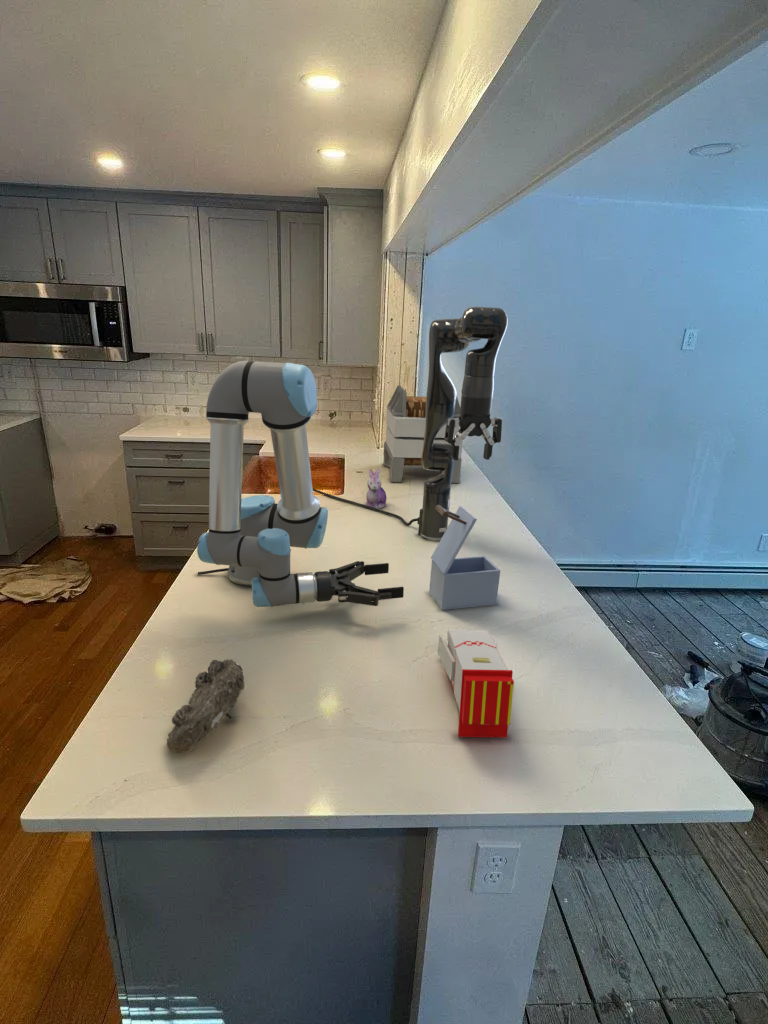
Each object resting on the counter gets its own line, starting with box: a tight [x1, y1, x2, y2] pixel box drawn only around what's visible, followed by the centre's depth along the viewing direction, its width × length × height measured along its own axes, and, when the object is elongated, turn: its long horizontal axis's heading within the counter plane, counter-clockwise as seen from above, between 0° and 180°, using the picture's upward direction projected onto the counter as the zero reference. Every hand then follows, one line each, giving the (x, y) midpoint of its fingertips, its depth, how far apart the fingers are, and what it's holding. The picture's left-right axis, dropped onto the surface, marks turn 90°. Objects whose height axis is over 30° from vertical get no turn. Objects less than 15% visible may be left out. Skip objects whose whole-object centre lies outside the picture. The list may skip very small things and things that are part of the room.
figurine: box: [365, 468, 387, 509], centre depth 224 cm, size 9×10×15 cm
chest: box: [428, 555, 501, 611], centre depth 155 cm, size 16×10×10 cm, turn 106°
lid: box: [430, 505, 478, 574], centre depth 148 cm, size 16×10×8 cm
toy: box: [437, 628, 515, 738], centre depth 117 cm, size 12×13×30 cm
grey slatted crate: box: [383, 384, 464, 484], centre depth 268 cm, size 34×33×41 cm
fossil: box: [166, 658, 245, 754], centre depth 106 cm, size 22×10×15 cm
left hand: (395, 579), depth 148 cm, fingers open, 13 cm apart
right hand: (470, 459), depth 143 cm, fingers open, 8 cm apart
